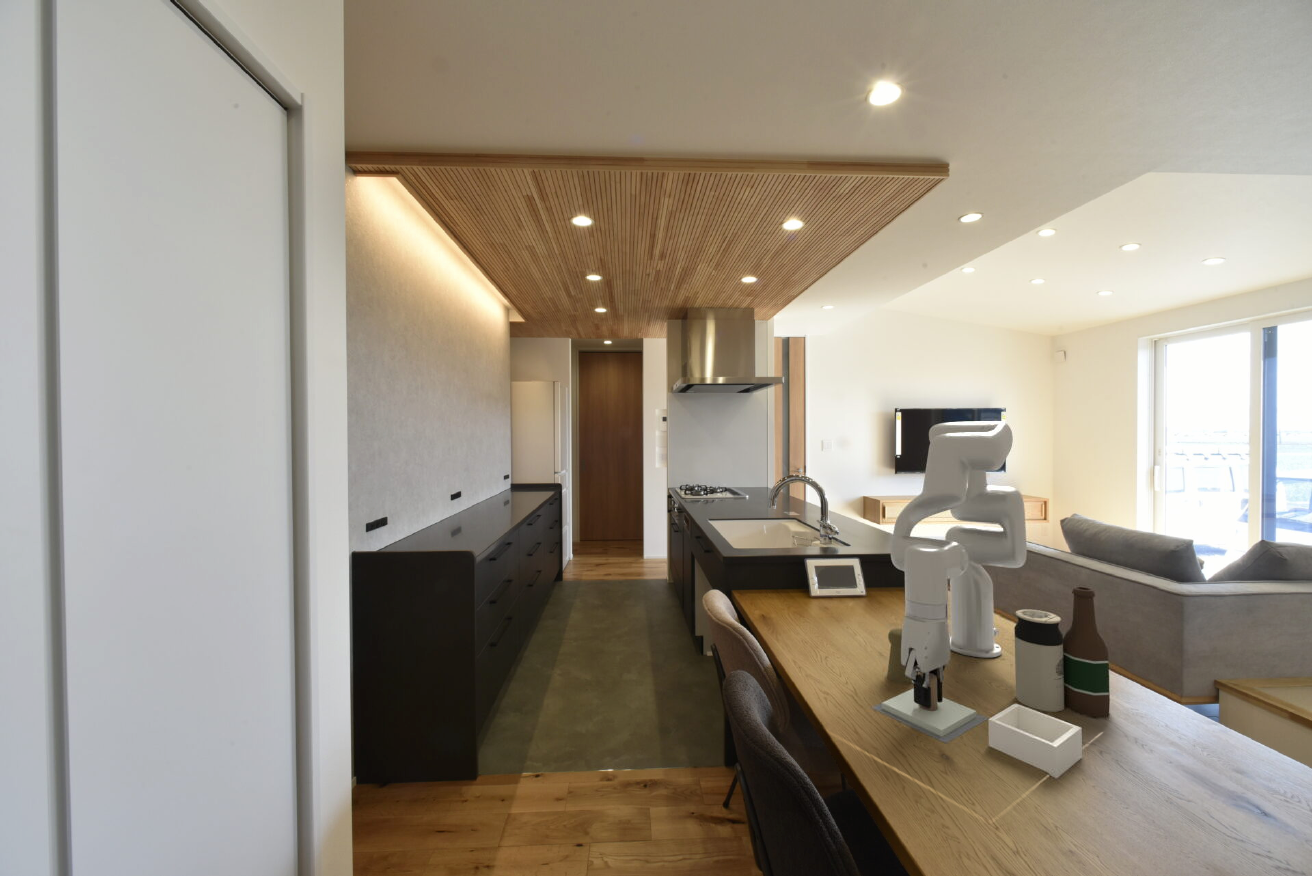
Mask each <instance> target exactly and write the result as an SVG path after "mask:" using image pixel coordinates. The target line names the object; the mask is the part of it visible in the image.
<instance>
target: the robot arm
mask: <svg viewBox="0 0 1312 876" xmlns="http://www.w3.org/2000/svg"><path fill="white" fill-rule="evenodd" d="M928 437H929V438H928V440H929V442H930V443H929V447H928V454H927V461H926V466H925V472H924V480H923V485H922V491H921V493H920V494H918V495H917V496H916V497H915V498H913V499H911V501H910V502H909V503H908V504H907V505H905V507H904V508H903V509H902V510H901V511H900V513H899V514H898V516H897V519H895V522H894V527H893V533H892V539H891V545H890V558H891V559H890V560H891V562H892V565H893V566H894V567H895V568H896V569H898V570H900V571H903V572H904V593H905V594H904V597H905V600H904V601H905V603H904V604H905V607H904V608H905V609H904V610H905V615H904V618H903V625H902V628H901V629H902V642H901V663H902V665H903V666H907V667H906V671H905V675H906V676H908V677H910V678H911V679H912V683H911V684H913V688H914V702H915V703H917V704H919V705H921V706H924V707H926V708H931V687H928V686H929V673H930V674H933V675H935V676H936V677H937V702H939V703H941V702H942V701H943V698H944V697H943V681H944V677H945V676H944V671H945V668H946V666H947V664H948V663H949V662H950V660H951V651H953V652H955V653H957V654H961V655H965V656H968V657H974V658H975V657H976V658H984V659H985V658H986V659H988V658H996V657H1000V656H1001V655H1002V653H1003V652H1002V651H1003V650H1002V647H1001V646H1000V645H999V644H997V643H996V642H995V637H996V636H998V635H999V634H1000V631H999V629H998V628H997V627H994V626H995V620H994V619H995V618H994V615H995V614H994V613H995V612H994V583H993V580H992V577H991V576H990V575H989V573H988V572H987V571H986V569H985V568H984V567H983V566H991V567H1002V568H1009V569H1018V568H1021V567H1023V566H1024V565H1025V564H1026V561H1027V553H1028V547H1027V546H1028V545H1027V530H1026V513H1025V512H1026V511H1025V510H1026V509H1025V501H1024V498H1023V496H1022V493H1021V492H1020V491H1019V490H1018V489H1017V488H1016V487H1015V488H1014V487H1012V486H1006V485H1003V486H1002V485H989V484H988V481H987V471H993V472H994V471H997V470H999V469H1001V468H1002V467H1003V465H1004V463H1005V461H1006V460H1007V458H1008V456H1009V454H1010V452H1011V450H1012V447H1013V437H1014V436H1013V432H1012V429H1011V427H1010V425H1009V424H1008V423H1006V422H1004V421H1000V420H999V421H998V420H994V421H989V420H987V421H986V420H985V421H984V420H983V421H954V422H953V421H951V422H941V423H938V424H934V425H933V426H931V428H930V429H929V431H928ZM949 510H950V513H951V516H952V517H953V518H954V519H956V520H957V521H961V522H967V523H975V524H976V523H977V524H987V525H989V524H990V525H999V526H1000V527H990V526H979V525H968V524H966V525H965V524H964V525H961V524H960V525H955V526H951V527H950V528H949V529H947V531H946V534H945V535H944V536H945V538H944V539H937V538H928V537H921V536H919V537H918V536H911V533H912V531H913V529H914V528H915V527H916V526H917V524H918V523H920V522H921V521H924V520H925V519H927V518H928V517H932V516H935V515H938V514H941V513H944V512H947V511H949ZM948 580H949V584H948ZM948 585H950V586H948ZM948 589H950V591H949V590H948ZM949 595H950V600H949ZM949 601H950V628H949V621H948V620H949ZM950 634H951V635H950ZM919 673H923V678H922V676H921V675H919Z"/></svg>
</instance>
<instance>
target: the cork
mask: <svg viewBox="0 0 1312 876" xmlns="http://www.w3.org/2000/svg"><path fill="white" fill-rule="evenodd" d="M902 629H903V628H893V629H890V631H889V632H888V635H887V638H888V642H889V643H890V649H889V657H888V658H889V659H888V666H887V674H886V675H887V678H888V679H889V680H891V681H894V682H895V683H899V684H907V685H909V684H913V683H912V679H911V678H910V677H908V676H906V675H905V671H906V667H907V666H903V665H902V663H901V642H902Z"/></svg>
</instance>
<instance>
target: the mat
mask: <svg viewBox="0 0 1312 876" xmlns="http://www.w3.org/2000/svg"><path fill="white" fill-rule="evenodd" d="M907 691H908V690H907ZM907 691H905V692H907ZM896 696H897V695H895V696H894V697H896ZM885 701H886V700H884V701H883V702H885ZM870 708H871V709H872V710H875V711H876V712H878V713H880V714H883V715H885V716H887V717H889V718H891V719H893V720H896V721H898V722H899V723H901V724H904V725H906V726H907V727H910V728H912V729H915V730H917V731H918V732H920V733H923V734H925V735H927V736H929V737H931V738H933V739H935V740H937V741H940V742H942V743H943V744H947V743H949V742H952V741H953V740H954V739H955V740H956V738H958V737H959V736H961V735H963V734H965V733H966V732H968V731H970V730H971V729H973V728H975V727H977V726H979V725H980V724H982V723H984V722H985V721H987V720H988V719H990V718H988V717H986V716H984V715H981V714H979V713H977V712H976V718H974V719H972V720H971V721H969V722H967V723H965V724H964V725H962V726H960V727H958V728H957V729H955V730H953V731H951V732H950V733H948V734H946V735H944V736H943V737H942V736H940V735H937V734H935V733H933V732H931V731H929V730H927V729H925V728H922V727H920V726H918V725H916V724H914V723H912V722H910V721H908V720H905V719H903V718H901V717H899V716H897V715H895V714H893V713H890V712H888V711H886V710H884V709H882V702H880V703H878V704H876V705H873V706H871V707H870Z"/></svg>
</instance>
